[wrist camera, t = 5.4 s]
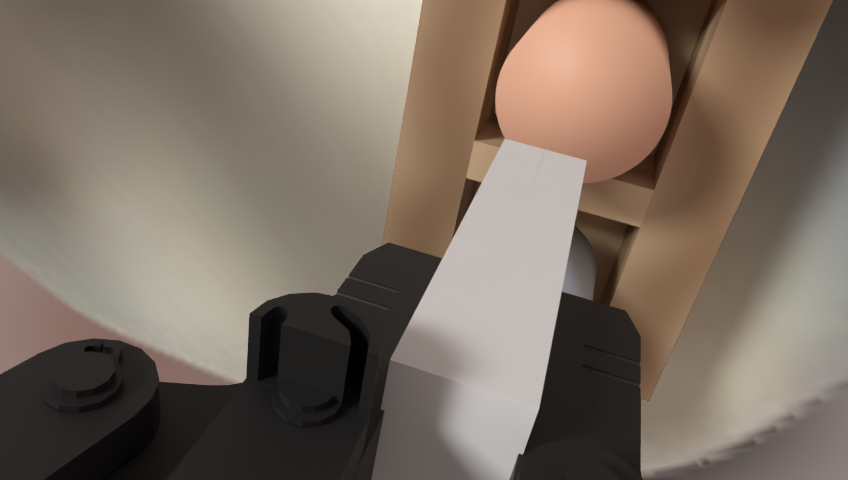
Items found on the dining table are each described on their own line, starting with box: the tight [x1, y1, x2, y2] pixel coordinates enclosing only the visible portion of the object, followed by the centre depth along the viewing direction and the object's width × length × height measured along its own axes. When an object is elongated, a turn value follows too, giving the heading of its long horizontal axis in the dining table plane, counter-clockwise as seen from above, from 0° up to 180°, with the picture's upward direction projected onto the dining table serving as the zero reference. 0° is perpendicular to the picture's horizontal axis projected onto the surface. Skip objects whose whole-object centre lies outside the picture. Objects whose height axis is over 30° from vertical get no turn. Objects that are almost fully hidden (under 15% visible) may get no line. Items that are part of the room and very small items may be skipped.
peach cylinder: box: [495, 0, 672, 183], centre depth 22 cm, size 5×5×6 cm
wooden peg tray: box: [382, 0, 833, 401], centre depth 24 cm, size 12×24×4 cm, turn 169°
